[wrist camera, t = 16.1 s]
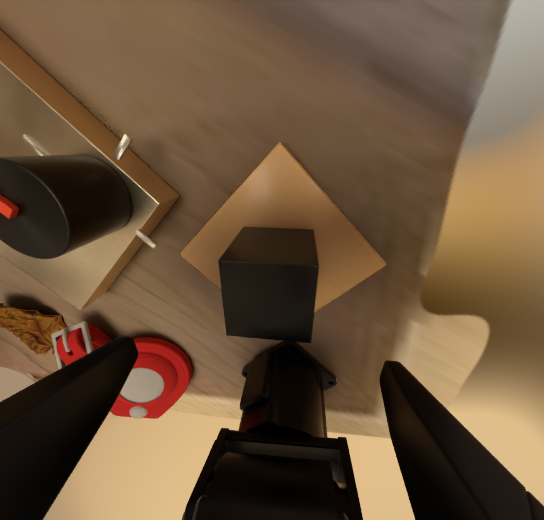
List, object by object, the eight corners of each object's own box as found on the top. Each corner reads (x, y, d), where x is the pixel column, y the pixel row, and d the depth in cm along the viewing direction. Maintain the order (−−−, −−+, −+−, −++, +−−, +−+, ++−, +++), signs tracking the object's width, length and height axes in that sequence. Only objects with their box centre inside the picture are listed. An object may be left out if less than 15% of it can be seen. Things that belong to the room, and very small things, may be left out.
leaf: (24, 342, 25) (9, 355, 23) (-18, 293, 21) (-40, 306, 20) (84, 343, 25) (72, 357, 23) (51, 295, 21) (35, 308, 19)
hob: (211, 190, 15) (194, 198, 13) (117, 302, 20) (93, 322, 18) (-113, -125, 10) (-236, -206, 8) (-124, 125, 16) (-200, 121, 13)
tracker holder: (197, 353, 20) (176, 438, 22) (203, 325, 24) (184, 399, 27) (33, 332, 17) (27, 433, 19) (71, 304, 21) (63, 390, 24)
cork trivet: (382, 258, 16) (387, 265, 15) (277, 329, 19) (276, 337, 19) (281, 142, 13) (279, 141, 12) (184, 248, 17) (178, 254, 16)
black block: (313, 229, 14) (319, 265, 10) (308, 289, 16) (311, 343, 12) (243, 226, 15) (217, 260, 10) (246, 285, 17) (226, 335, 12)
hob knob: (145, 197, 13) (79, 217, 9) (111, 245, 15) (44, 279, 11) (75, 135, 12) (-33, 129, 8) (47, 195, 14) (-52, 213, 10)
